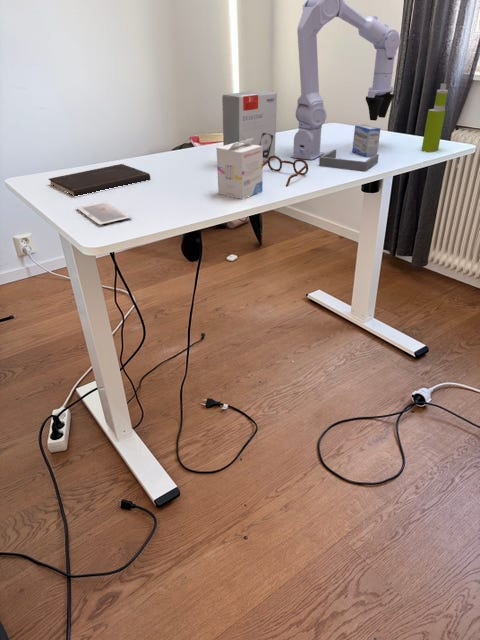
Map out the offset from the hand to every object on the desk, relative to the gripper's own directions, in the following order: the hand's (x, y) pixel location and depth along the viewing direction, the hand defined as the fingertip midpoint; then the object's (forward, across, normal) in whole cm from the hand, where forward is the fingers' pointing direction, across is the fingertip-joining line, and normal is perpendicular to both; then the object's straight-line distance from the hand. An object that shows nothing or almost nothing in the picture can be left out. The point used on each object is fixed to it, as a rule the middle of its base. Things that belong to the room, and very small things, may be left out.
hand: (377, 118), depth 162 cm
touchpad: (+10, +98, -21) cm, 101 cm away
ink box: (+10, +66, -6) cm, 67 cm away
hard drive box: (+10, +40, -23) cm, 47 cm away
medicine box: (+10, +10, +1) cm, 14 cm away
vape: (+10, -7, +17) cm, 21 cm away
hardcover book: (+10, +82, -44) cm, 93 cm away
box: (+9, +24, +3) cm, 26 cm away
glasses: (+10, +49, -6) cm, 51 cm away
